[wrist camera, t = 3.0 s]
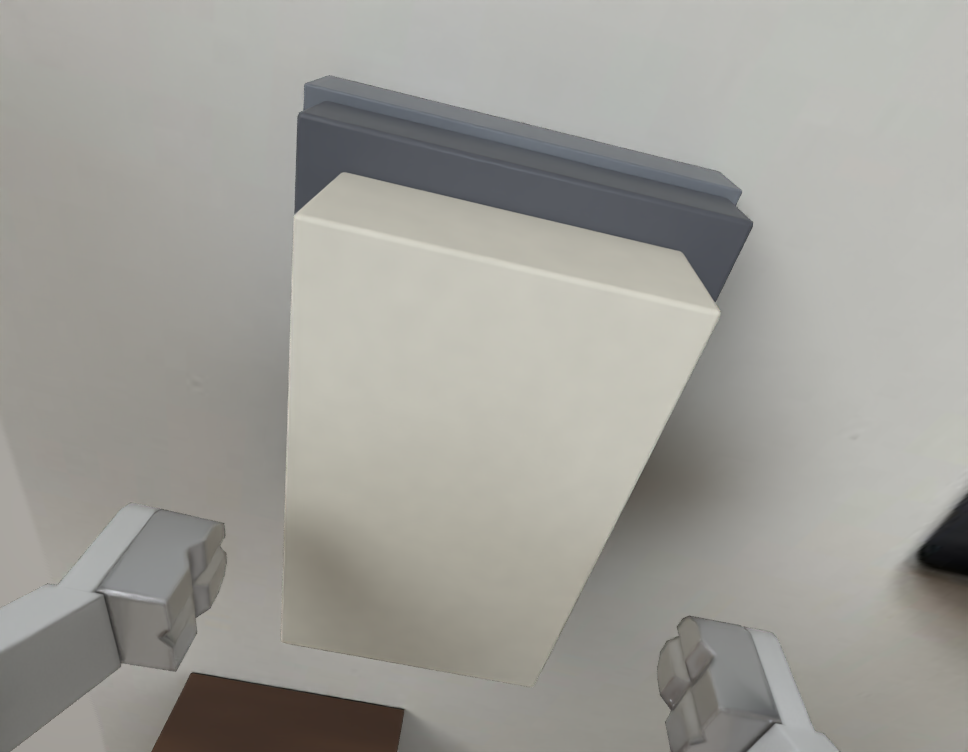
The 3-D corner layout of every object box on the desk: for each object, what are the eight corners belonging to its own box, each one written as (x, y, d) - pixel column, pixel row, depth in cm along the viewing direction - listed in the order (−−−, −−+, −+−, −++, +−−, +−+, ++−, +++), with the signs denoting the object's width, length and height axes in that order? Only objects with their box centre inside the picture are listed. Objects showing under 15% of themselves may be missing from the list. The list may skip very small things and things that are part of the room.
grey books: (327, 74, 12) (272, 92, 10) (721, 171, 13) (772, 214, 10) (303, 494, 19) (268, 572, 17) (558, 544, 20) (564, 627, 17)
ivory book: (341, 169, 10) (291, 213, 8) (683, 250, 11) (725, 313, 8) (312, 558, 16) (279, 643, 14) (532, 600, 17) (533, 689, 14)
